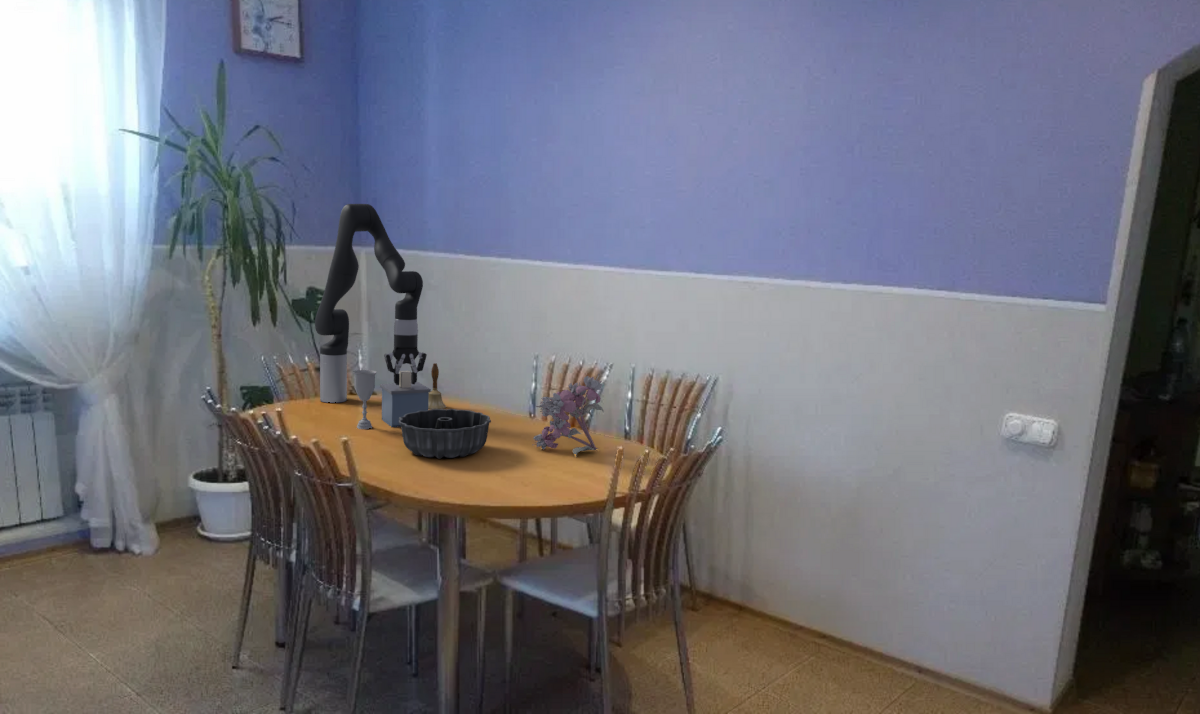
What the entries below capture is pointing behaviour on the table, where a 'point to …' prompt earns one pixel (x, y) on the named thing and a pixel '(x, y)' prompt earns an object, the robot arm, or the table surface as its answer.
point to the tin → (402, 405)
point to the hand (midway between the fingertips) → (405, 384)
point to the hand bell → (435, 391)
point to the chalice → (364, 392)
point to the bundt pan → (444, 432)
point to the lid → (405, 385)
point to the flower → (567, 404)
